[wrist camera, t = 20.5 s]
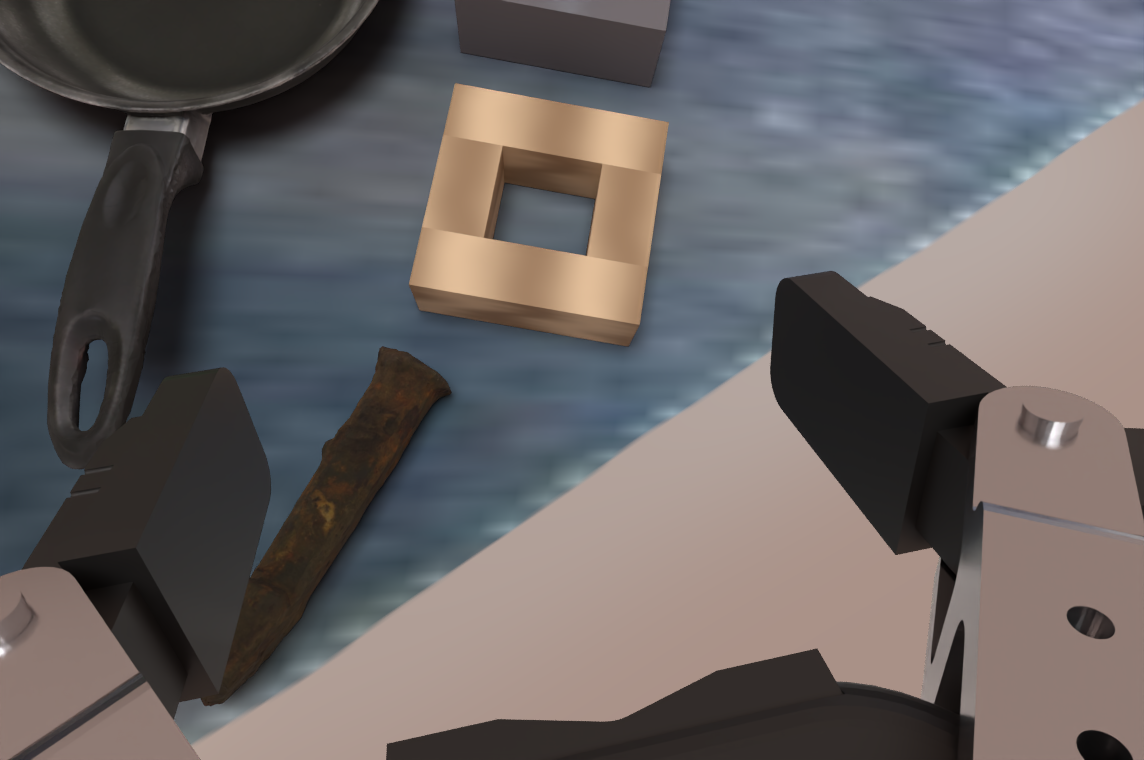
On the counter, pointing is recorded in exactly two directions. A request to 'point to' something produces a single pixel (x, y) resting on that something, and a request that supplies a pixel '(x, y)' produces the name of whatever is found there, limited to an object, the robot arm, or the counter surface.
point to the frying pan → (149, 150)
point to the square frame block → (550, 162)
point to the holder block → (568, 35)
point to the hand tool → (329, 509)
